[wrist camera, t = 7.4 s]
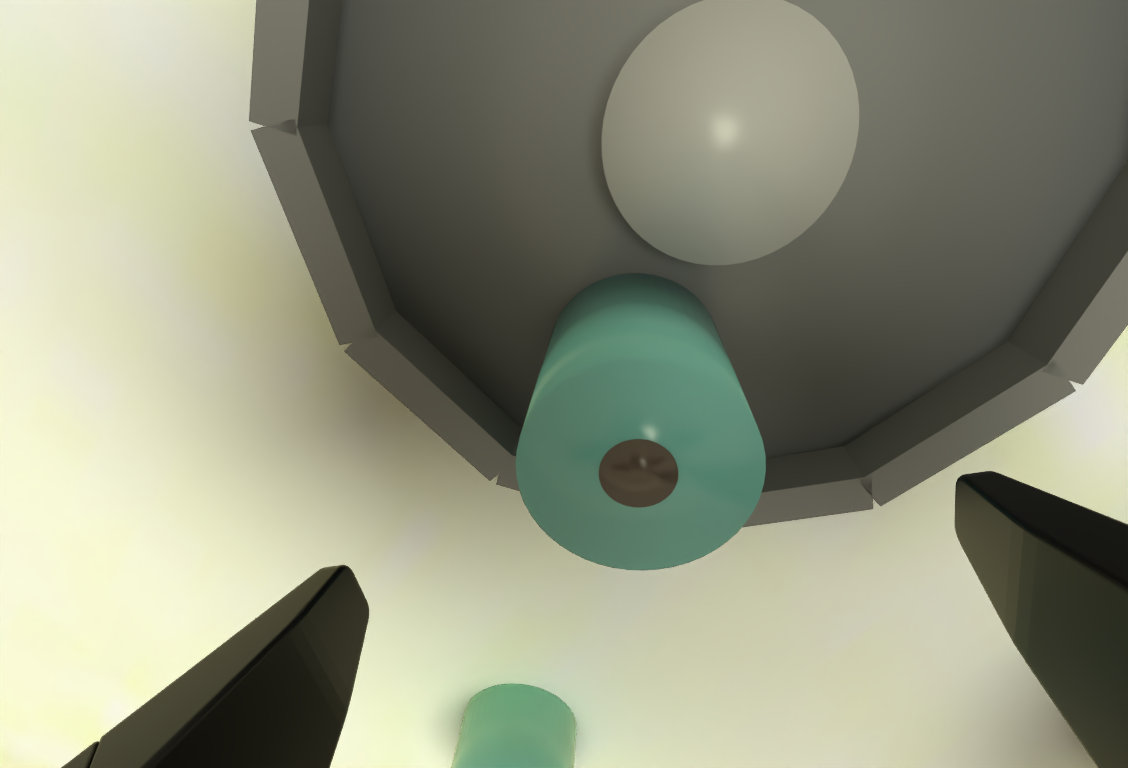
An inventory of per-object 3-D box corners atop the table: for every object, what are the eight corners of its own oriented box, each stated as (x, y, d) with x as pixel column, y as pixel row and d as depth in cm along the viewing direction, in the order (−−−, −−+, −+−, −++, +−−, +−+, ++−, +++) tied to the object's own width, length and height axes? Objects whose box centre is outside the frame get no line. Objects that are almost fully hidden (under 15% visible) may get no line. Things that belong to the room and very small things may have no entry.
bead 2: (708, 257, 15) (753, 337, 10) (729, 417, 16) (776, 557, 11) (531, 291, 15) (486, 384, 10) (569, 442, 17) (546, 583, 12)
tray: (1267, -696, 9) (1482, -960, 7) (1111, 414, 17) (1189, 465, 14) (164, -247, 12) (62, -325, 10) (453, 516, 20) (432, 570, 18)
